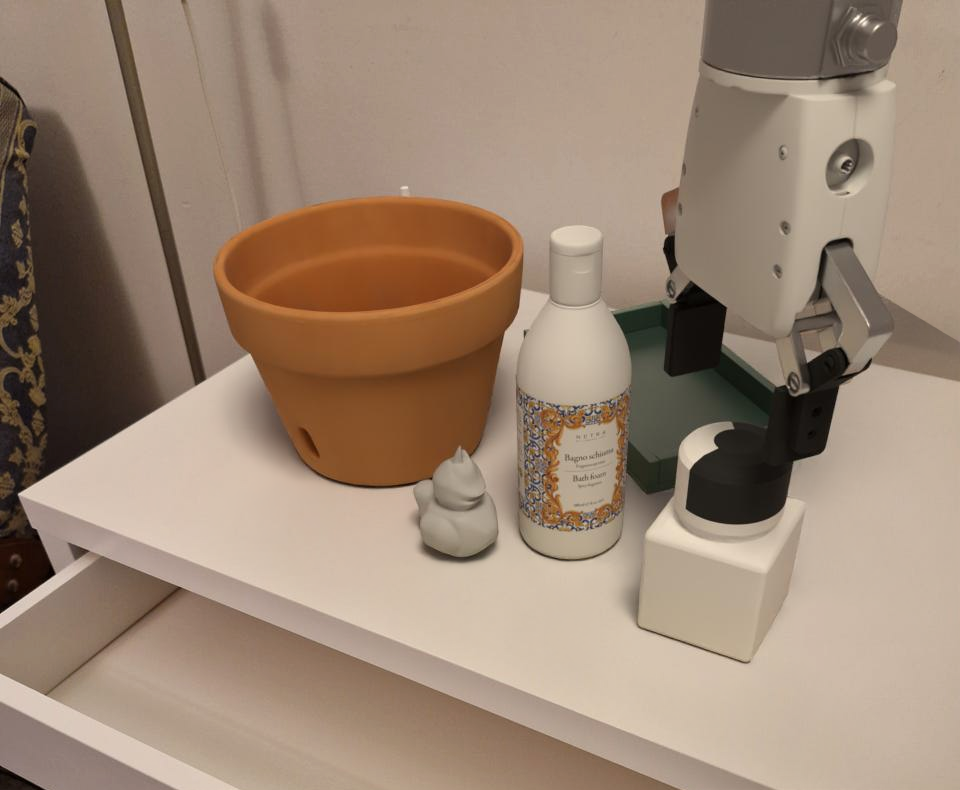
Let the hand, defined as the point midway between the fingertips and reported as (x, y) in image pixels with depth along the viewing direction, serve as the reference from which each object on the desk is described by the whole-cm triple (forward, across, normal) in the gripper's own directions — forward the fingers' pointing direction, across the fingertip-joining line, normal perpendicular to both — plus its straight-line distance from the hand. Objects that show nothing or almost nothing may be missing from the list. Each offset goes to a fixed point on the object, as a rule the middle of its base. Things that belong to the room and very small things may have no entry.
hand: (738, 411), depth 52 cm
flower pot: (+14, +28, +12) cm, 34 cm away
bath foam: (+14, +11, +4) cm, 18 cm away
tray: (+14, +24, -10) cm, 29 cm away
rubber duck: (+14, +13, +12) cm, 22 cm away
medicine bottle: (+14, 0, 0) cm, 14 cm away
